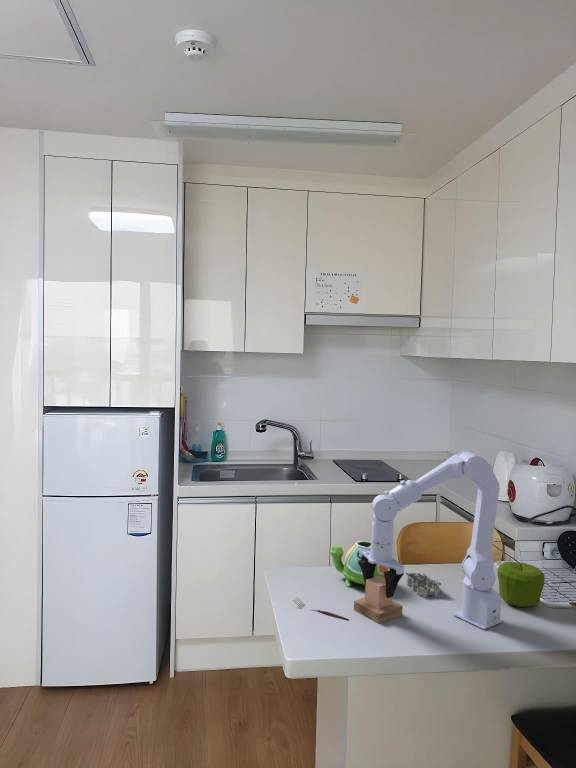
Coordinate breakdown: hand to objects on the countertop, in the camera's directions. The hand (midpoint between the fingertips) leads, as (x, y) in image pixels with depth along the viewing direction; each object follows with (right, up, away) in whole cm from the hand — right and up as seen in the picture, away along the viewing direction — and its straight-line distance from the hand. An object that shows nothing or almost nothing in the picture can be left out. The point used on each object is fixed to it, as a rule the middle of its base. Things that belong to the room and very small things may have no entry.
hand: (379, 591), depth 155 cm
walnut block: (0, -6, 0) cm, 6 cm away
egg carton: (+15, -6, +17) cm, 23 cm away
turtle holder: (-3, -5, +20) cm, 21 cm away
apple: (+41, -7, +10) cm, 43 cm away
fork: (-15, -6, -1) cm, 16 cm away
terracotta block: (0, -3, 0) cm, 3 cm away
